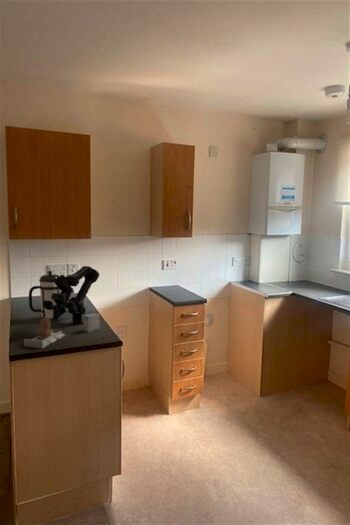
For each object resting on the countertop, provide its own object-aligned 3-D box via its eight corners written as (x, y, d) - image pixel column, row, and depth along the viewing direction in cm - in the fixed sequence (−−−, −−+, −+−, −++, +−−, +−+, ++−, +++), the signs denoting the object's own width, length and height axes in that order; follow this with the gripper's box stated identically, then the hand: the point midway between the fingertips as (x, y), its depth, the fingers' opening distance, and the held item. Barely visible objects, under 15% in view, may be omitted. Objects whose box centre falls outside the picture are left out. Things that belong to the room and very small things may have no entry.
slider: (43, 336, 196) (43, 318, 195) (51, 337, 195) (50, 319, 194) (39, 339, 192) (38, 320, 191) (46, 339, 191) (46, 321, 190)
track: (48, 334, 205) (47, 327, 204) (64, 335, 202) (64, 329, 202) (24, 346, 185) (23, 339, 185) (42, 348, 183) (41, 341, 182)
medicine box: (95, 327, 217) (94, 312, 216) (100, 329, 214) (99, 314, 213) (83, 330, 211) (83, 315, 210) (88, 332, 208) (88, 317, 207)
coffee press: (51, 314, 245) (50, 268, 241) (69, 317, 237) (68, 270, 233) (29, 320, 230) (26, 271, 226) (47, 324, 222) (45, 273, 218)
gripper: (43, 285, 206) (31, 310, 197) (74, 287, 201) (63, 313, 192) (52, 297, 215) (41, 321, 205) (82, 299, 210) (72, 324, 201)
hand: (54, 319), depth 201 cm, fingers closed
